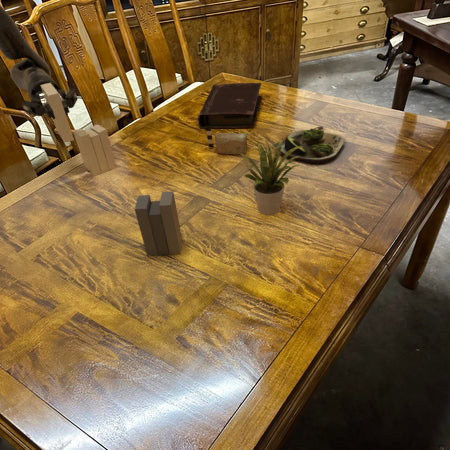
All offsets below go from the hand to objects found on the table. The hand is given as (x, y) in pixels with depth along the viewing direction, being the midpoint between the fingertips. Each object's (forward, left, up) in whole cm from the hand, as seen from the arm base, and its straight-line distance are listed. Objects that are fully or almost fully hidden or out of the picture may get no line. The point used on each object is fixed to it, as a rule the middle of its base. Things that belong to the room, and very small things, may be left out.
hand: (59, 112), depth 97 cm
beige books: (+8, +9, -21) cm, 24 cm away
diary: (+58, +15, -21) cm, 63 cm away
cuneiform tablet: (+41, -7, -21) cm, 46 cm away
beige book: (0, +3, -6) cm, 7 cm away
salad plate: (+59, -22, -21) cm, 66 cm away
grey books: (+5, -35, -21) cm, 41 cm away
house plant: (+33, -39, -21) cm, 55 cm away
